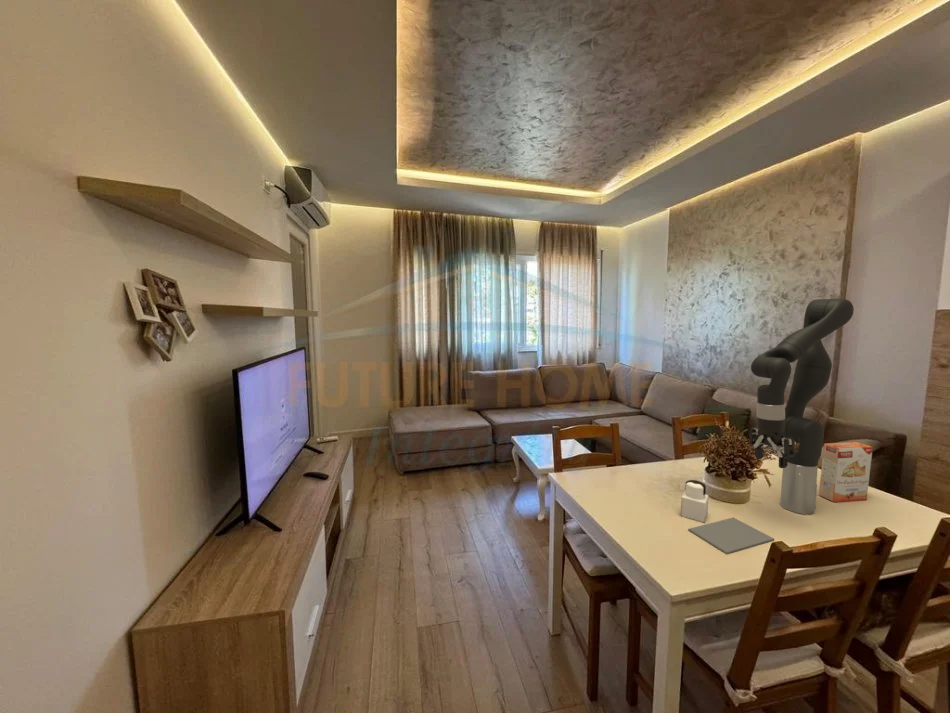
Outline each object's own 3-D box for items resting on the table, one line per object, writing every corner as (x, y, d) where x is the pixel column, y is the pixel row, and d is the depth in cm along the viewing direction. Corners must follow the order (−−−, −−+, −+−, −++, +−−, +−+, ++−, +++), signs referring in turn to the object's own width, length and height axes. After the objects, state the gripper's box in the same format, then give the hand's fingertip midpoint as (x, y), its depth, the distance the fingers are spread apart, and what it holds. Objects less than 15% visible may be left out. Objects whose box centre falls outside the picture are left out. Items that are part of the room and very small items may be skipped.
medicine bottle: (684, 507, 134) (686, 476, 133) (707, 514, 130) (709, 481, 129) (680, 516, 129) (682, 483, 128) (704, 523, 124) (706, 489, 123)
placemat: (733, 519, 126) (733, 517, 126) (774, 540, 114) (774, 538, 114) (688, 530, 120) (688, 528, 120) (726, 554, 108) (726, 552, 108)
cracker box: (834, 503, 135) (839, 448, 133) (818, 495, 141) (822, 442, 139) (868, 500, 137) (873, 446, 135) (850, 493, 143) (855, 440, 141)
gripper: (801, 420, 117) (801, 469, 118) (761, 410, 131) (761, 454, 132) (781, 422, 116) (780, 472, 117) (742, 412, 130) (742, 457, 131)
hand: (770, 463), depth 125 cm, fingers open, 8 cm apart
